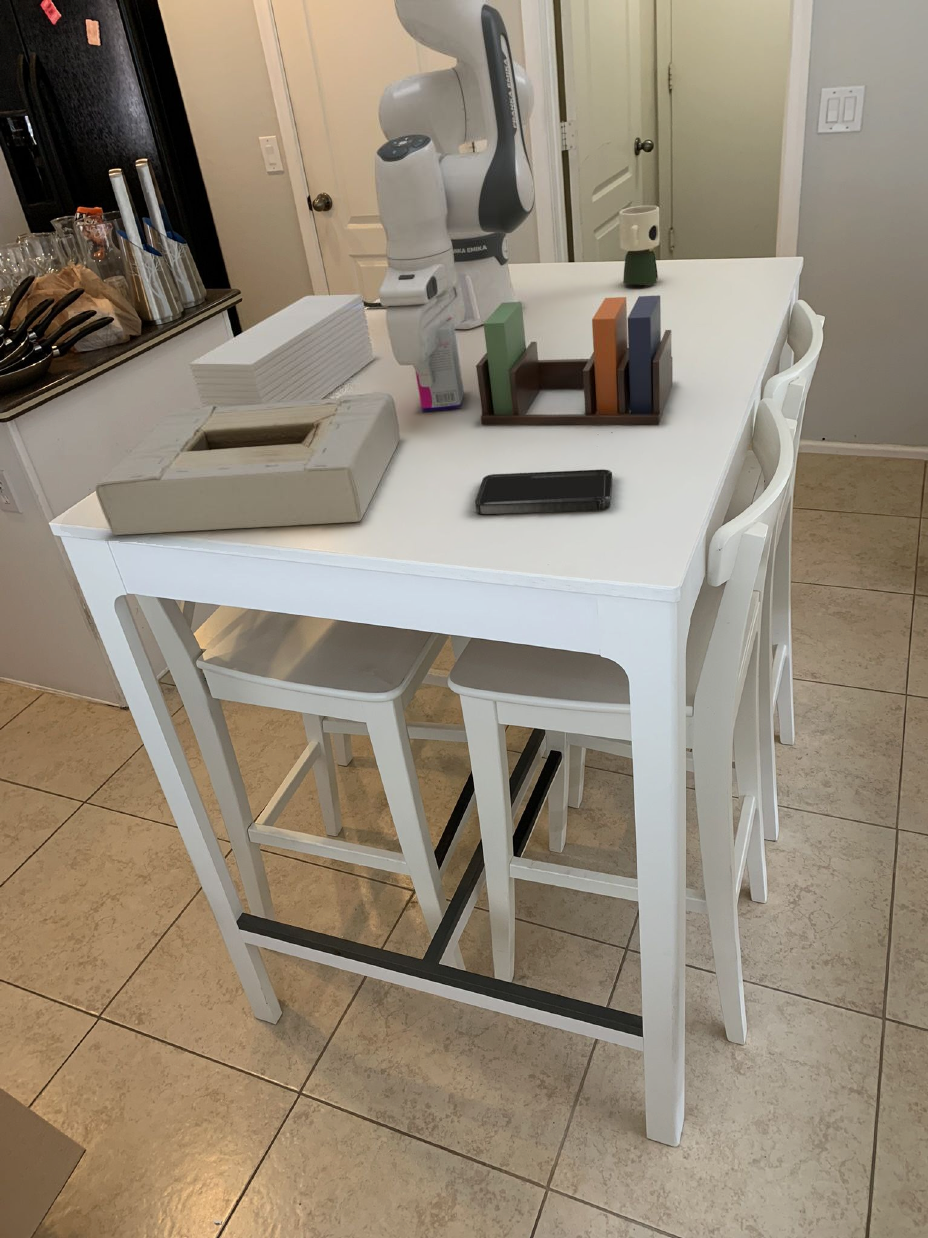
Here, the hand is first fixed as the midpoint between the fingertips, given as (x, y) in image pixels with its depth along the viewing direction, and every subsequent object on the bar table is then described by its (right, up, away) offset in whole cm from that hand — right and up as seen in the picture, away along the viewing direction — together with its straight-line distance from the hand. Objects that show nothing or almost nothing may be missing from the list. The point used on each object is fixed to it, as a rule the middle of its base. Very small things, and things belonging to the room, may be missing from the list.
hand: (438, 373), depth 129 cm
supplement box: (+1, -4, +2) cm, 5 cm away
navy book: (+28, -6, -8) cm, 30 cm away
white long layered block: (-23, 0, +14) cm, 27 cm away
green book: (+11, -5, -2) cm, 12 cm away
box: (-22, -18, -13) cm, 31 cm away
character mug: (+37, +27, +40) cm, 61 cm away
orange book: (+24, -6, -6) cm, 26 cm away
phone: (+13, -21, -26) cm, 36 cm away
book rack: (+19, -6, -5) cm, 21 cm away
